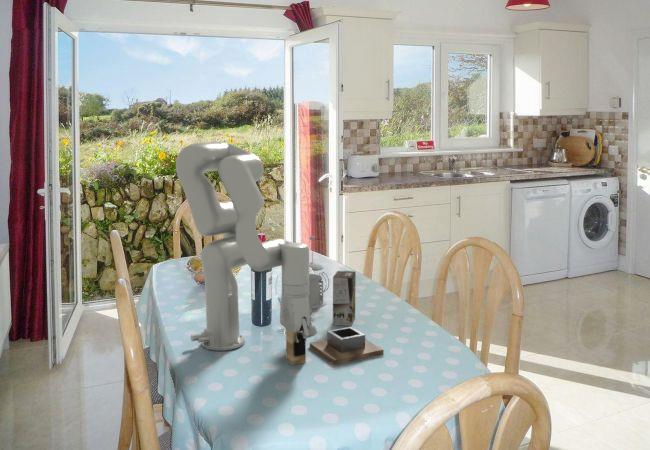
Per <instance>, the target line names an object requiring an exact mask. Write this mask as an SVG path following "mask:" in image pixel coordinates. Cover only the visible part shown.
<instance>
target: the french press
mask: <svg viewBox="0 0 650 450" xmlns="http://www.w3.org/2000/svg"><path fill="white" fill-rule="evenodd" d="M309 240H311V262H310V261H309V267H311V268H312V270H313V272H318V271H321V270H324V265H323V264H321V263H318V262H315V261H314V259H313V257H314V256H313V255H314V254H313V251H314V250H313V246H314V245H313V241H314V240H316V237H315V236H314V235H310V236H309ZM324 274H325V276H326V277H325V276H324ZM318 275H320V276H321V278H320V280H319V294H318V297H317V299H316V301H315V304H314V305H312V306H311V309H319V308H323V307H325V306H327V303H326V302H325V301H324V293H325V292H326V291H328V290H329V287H330V278H329V277H328V275H327V274H326V272H325V271H322V272H320V273H319V274H318ZM323 278H324V280H325V282H327V281H328V285H327V286H325V287H324V281H323ZM326 278H327V279H326Z"/></svg>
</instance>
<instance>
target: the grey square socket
mask: <svg viewBox="0 0 650 450" xmlns="http://www.w3.org/2000/svg"><path fill="white" fill-rule="evenodd" d="M326 338H327V344H328V345H329V346H331V347H332V348H334V349H335V350H337V351H338V352H340V353H344V352H349V351H354V350H358V349H363V348H365V339H366V334H365V333H363V332H361V331H360V330H358V329H356V328H354V327H352V326H347V327H346V326H345V327H343V328H337V329H331V330H327V331H326Z"/></svg>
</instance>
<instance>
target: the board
mask: <svg viewBox="0 0 650 450" xmlns="http://www.w3.org/2000/svg"><path fill="white" fill-rule="evenodd" d="M309 348H310V349H311V350H312V351H314V352H315V353H316V354H318V355H319V356H321V357H322V358H324V359H325V360H327V361H328V362H330V363H331V364H332V365H333V366H337V365H338V366H339V365H343V364H348V363H352V362H357V361H361V360H366V359H370V358H374V357H379V356H382V355H383V356H384V348H382V347H380V346H378V345H377V344H375V343H373V342H371V341H369V340H368V339H366V338H365V348H363V349H358V350H354V351H349V352H344V353H340V352H338V351H337V350H335V349H334V348H332V347H331V346H329V345H328V344H327V339H323V340H322V339H321V340H318V341H317V340H316V341H312V342H309Z"/></svg>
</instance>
